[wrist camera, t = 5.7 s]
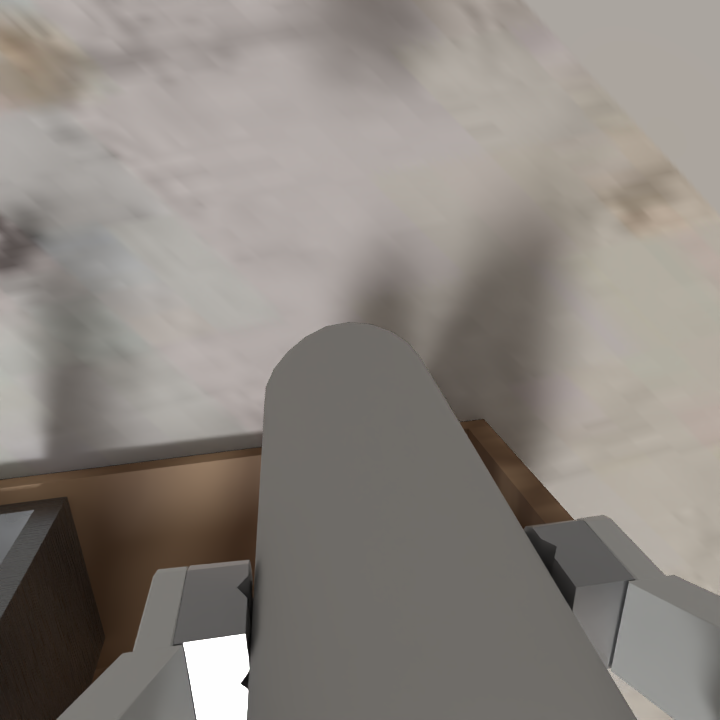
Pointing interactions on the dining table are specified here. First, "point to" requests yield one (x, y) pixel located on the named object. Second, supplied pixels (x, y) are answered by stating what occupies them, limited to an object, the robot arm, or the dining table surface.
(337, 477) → the beverage can
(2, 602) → the bookend
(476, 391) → the dining table surface
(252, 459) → the rack
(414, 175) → the dining table surface
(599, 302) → the dining table surface
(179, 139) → the dining table surface
